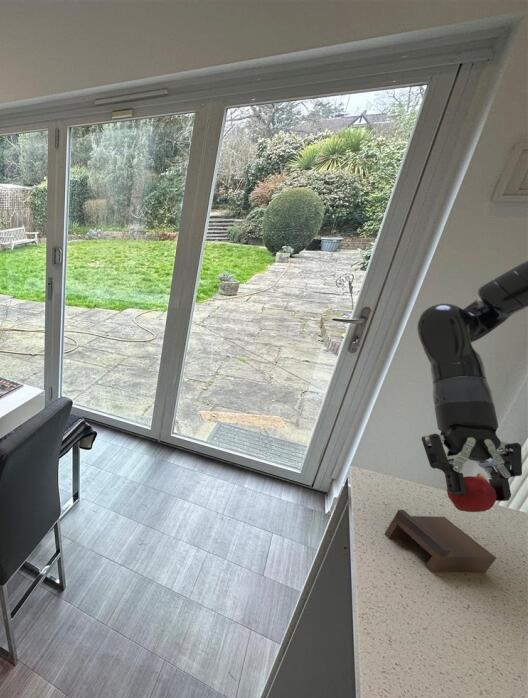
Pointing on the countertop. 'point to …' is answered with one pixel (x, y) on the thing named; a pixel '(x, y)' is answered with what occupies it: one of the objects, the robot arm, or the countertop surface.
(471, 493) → the red rounded lump
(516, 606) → the countertop surface
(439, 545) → the shelf
